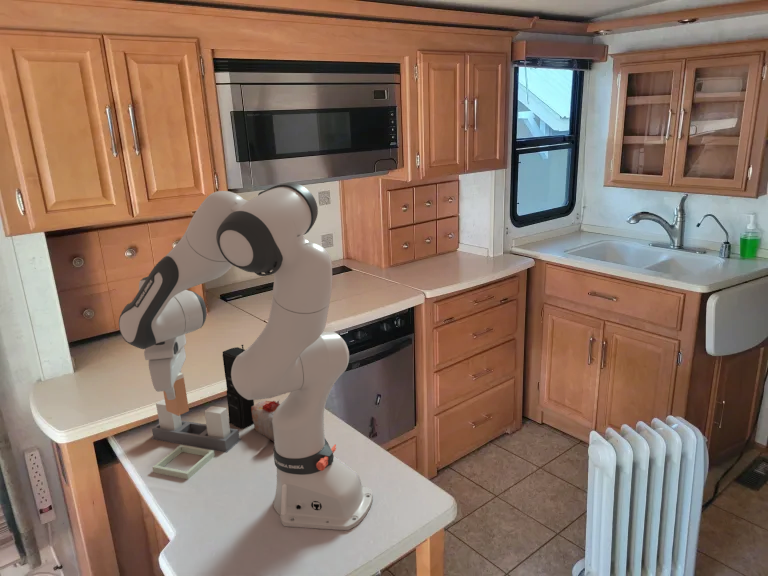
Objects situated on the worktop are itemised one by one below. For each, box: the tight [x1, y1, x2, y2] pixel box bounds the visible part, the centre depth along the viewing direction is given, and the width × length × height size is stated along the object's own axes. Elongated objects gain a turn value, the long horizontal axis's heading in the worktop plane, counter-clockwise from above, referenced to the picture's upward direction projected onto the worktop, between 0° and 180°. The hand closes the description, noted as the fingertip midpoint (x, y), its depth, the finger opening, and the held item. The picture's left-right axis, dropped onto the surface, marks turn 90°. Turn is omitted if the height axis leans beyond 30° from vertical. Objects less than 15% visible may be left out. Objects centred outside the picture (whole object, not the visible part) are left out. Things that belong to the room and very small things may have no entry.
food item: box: [251, 400, 281, 443], centre depth 157 cm, size 14×8×10 cm, turn 46°
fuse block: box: [150, 398, 242, 453], centre depth 155 cm, size 25×7×11 cm, turn 70°
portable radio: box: [222, 344, 255, 430], centre depth 161 cm, size 8×6×25 cm
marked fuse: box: [162, 372, 190, 416], centre depth 139 cm, size 5×3×10 cm, turn 54°
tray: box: [152, 444, 216, 480], centre depth 144 cm, size 11×11×2 cm
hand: (174, 392), depth 139 cm, fingers closed on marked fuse, 6 cm apart
